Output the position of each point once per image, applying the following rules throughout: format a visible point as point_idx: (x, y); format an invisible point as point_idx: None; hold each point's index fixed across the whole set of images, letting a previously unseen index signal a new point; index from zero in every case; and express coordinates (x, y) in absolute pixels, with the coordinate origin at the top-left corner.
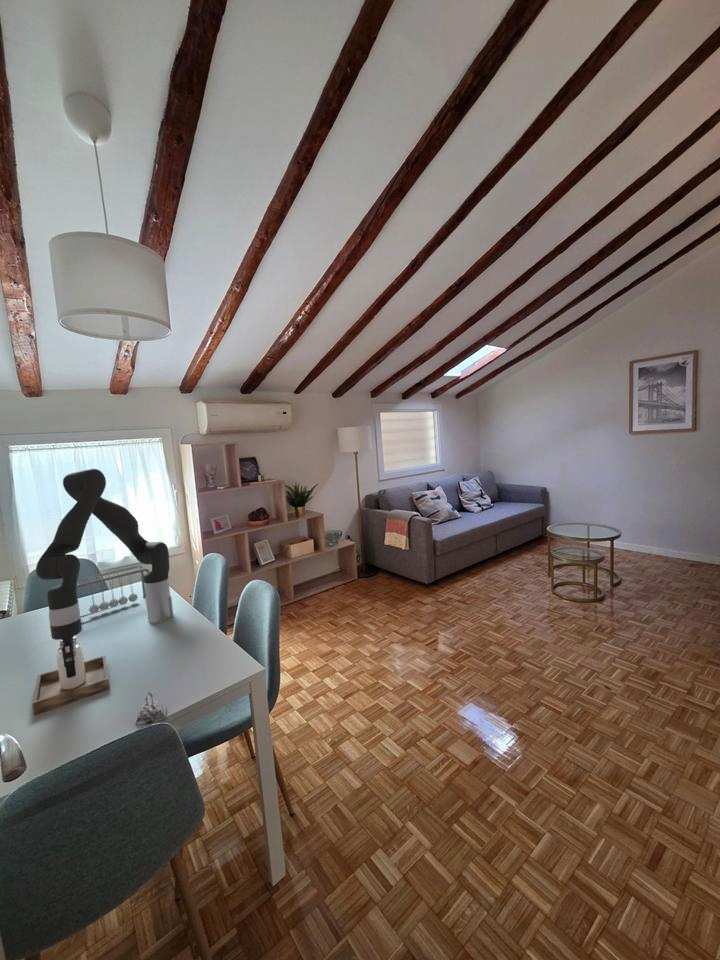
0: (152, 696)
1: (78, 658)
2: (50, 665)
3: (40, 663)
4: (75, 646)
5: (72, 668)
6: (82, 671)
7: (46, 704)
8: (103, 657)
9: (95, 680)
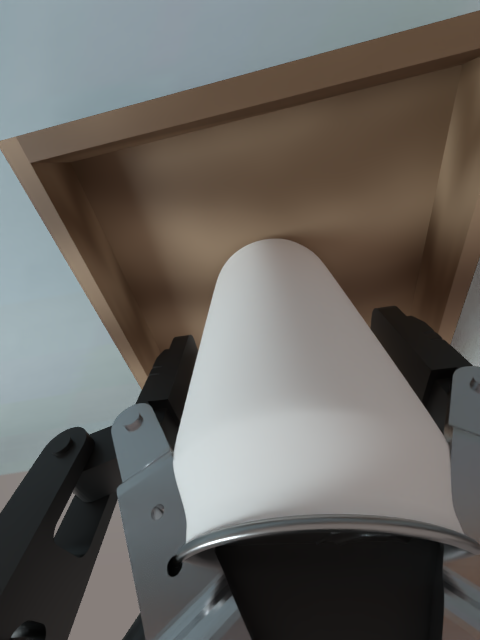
0: None
1: (387, 360)
2: (25, 395)
3: (6, 420)
4: (465, 585)
5: (456, 357)
6: (320, 270)
7: None
8: (41, 151)
9: (300, 177)
